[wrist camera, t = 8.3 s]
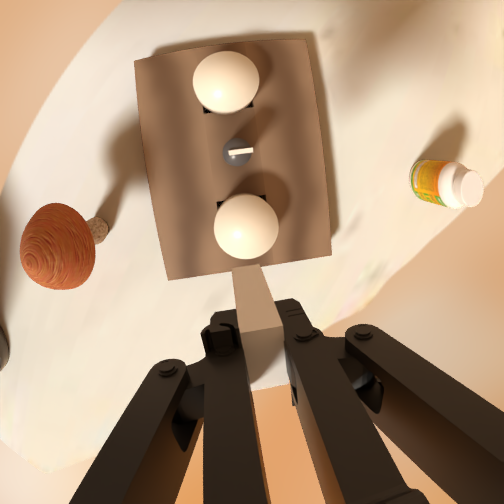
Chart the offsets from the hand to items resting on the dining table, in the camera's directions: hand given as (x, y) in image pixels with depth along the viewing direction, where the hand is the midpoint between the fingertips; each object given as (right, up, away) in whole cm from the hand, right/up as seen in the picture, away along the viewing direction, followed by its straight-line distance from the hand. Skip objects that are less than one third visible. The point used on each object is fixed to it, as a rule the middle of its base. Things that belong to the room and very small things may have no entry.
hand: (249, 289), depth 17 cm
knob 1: (-3, +19, +13) cm, 23 cm away
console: (-2, +13, +16) cm, 20 cm away
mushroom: (-18, +5, +16) cm, 25 cm away
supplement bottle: (+23, +12, +18) cm, 31 cm away
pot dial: (-2, +12, +13) cm, 17 cm away
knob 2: (-1, +6, +17) cm, 18 cm away
